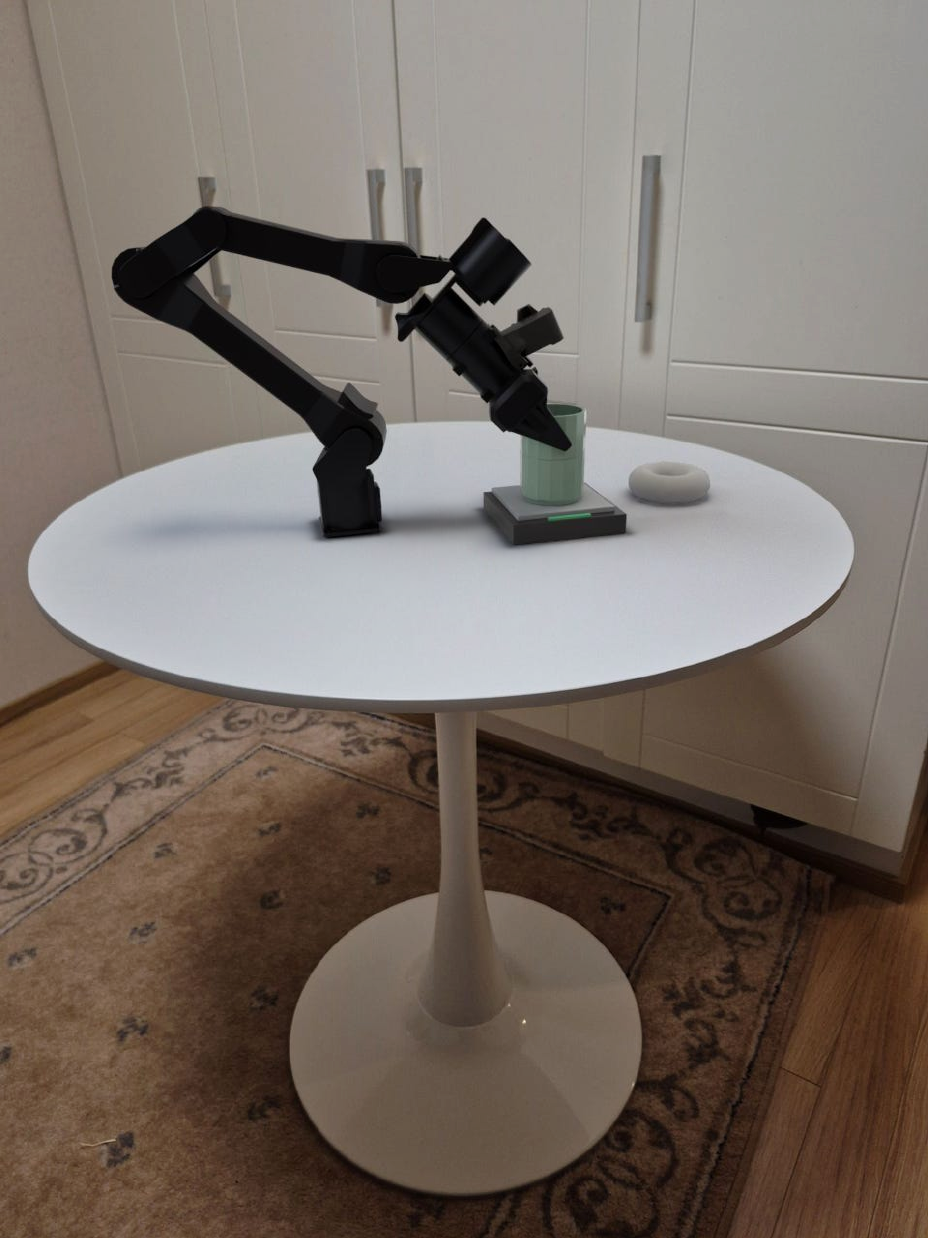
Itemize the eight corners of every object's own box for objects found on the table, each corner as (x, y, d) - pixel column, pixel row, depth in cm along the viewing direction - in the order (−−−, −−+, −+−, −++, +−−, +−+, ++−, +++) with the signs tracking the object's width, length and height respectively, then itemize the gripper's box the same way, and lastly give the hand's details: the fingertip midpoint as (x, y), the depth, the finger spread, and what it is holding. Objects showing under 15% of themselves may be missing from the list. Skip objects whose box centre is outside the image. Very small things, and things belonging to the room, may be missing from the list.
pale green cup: (559, 510, 94) (561, 419, 90) (507, 499, 98) (508, 411, 94) (594, 495, 99) (598, 407, 95) (544, 485, 103) (546, 400, 99)
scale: (513, 545, 93) (513, 520, 92) (483, 509, 104) (483, 487, 103) (625, 532, 95) (627, 508, 94) (584, 499, 107) (585, 477, 106)
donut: (699, 484, 112) (622, 483, 112) (702, 458, 110) (624, 457, 111) (717, 507, 103) (633, 507, 103) (720, 479, 101) (635, 479, 102)
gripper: (525, 287, 80) (635, 403, 85) (511, 274, 97) (604, 372, 102) (443, 375, 84) (554, 482, 88) (444, 349, 100) (537, 440, 105)
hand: (564, 439), depth 96 cm, fingers closed on pale green cup, 7 cm apart
